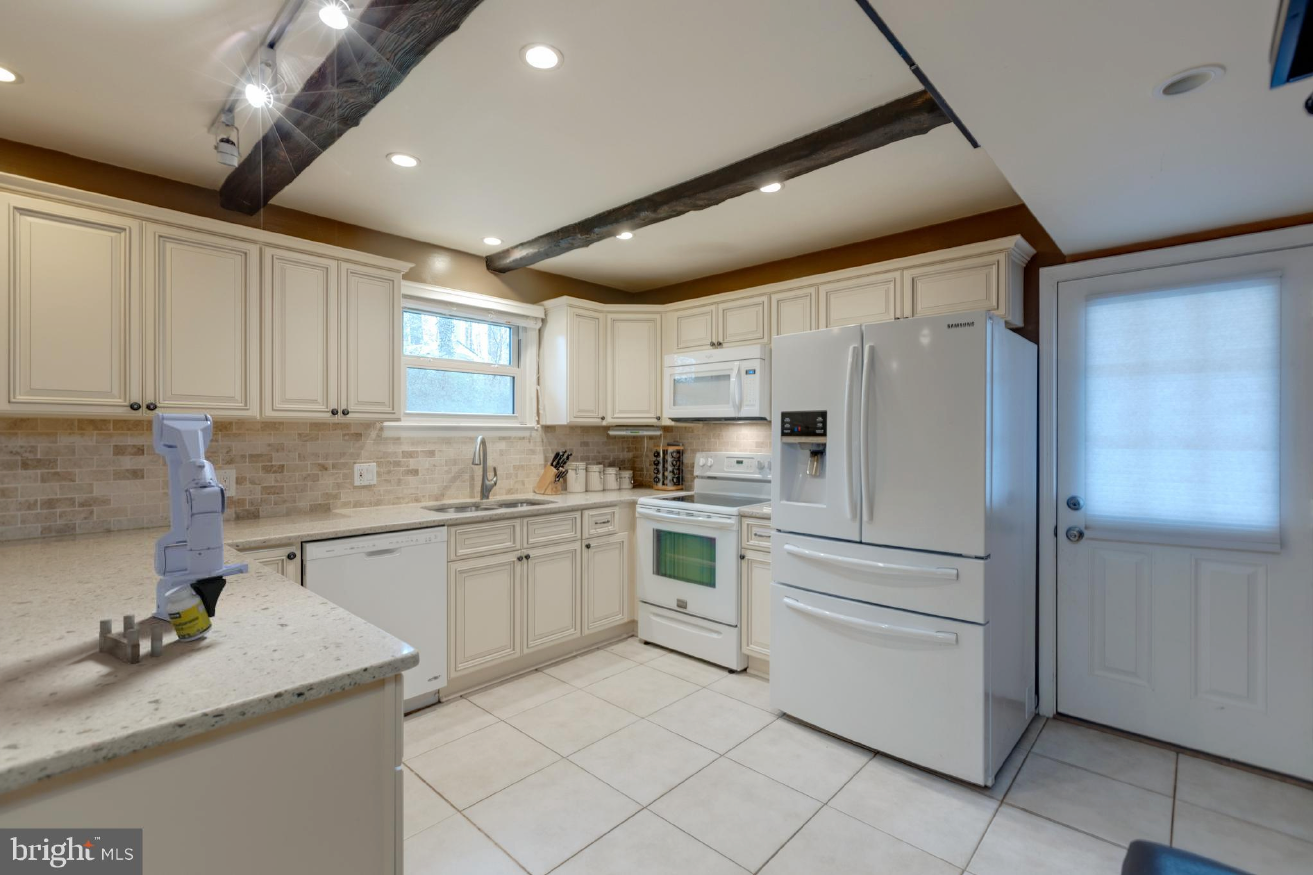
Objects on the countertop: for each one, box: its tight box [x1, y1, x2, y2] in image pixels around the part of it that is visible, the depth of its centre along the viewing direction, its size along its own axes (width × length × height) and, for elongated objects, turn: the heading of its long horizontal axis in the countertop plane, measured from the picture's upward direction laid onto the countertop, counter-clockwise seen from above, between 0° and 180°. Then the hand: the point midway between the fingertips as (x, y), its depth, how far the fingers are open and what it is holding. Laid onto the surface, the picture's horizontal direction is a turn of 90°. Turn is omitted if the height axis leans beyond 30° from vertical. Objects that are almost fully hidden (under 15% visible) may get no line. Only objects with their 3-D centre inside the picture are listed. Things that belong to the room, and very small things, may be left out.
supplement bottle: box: [165, 585, 213, 643], centre depth 114 cm, size 5×5×10 cm
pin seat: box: [98, 613, 164, 665], centre depth 107 cm, size 13×5×6 cm, turn 62°
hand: (207, 617), depth 116 cm, fingers closed, pressing on supplement bottle
